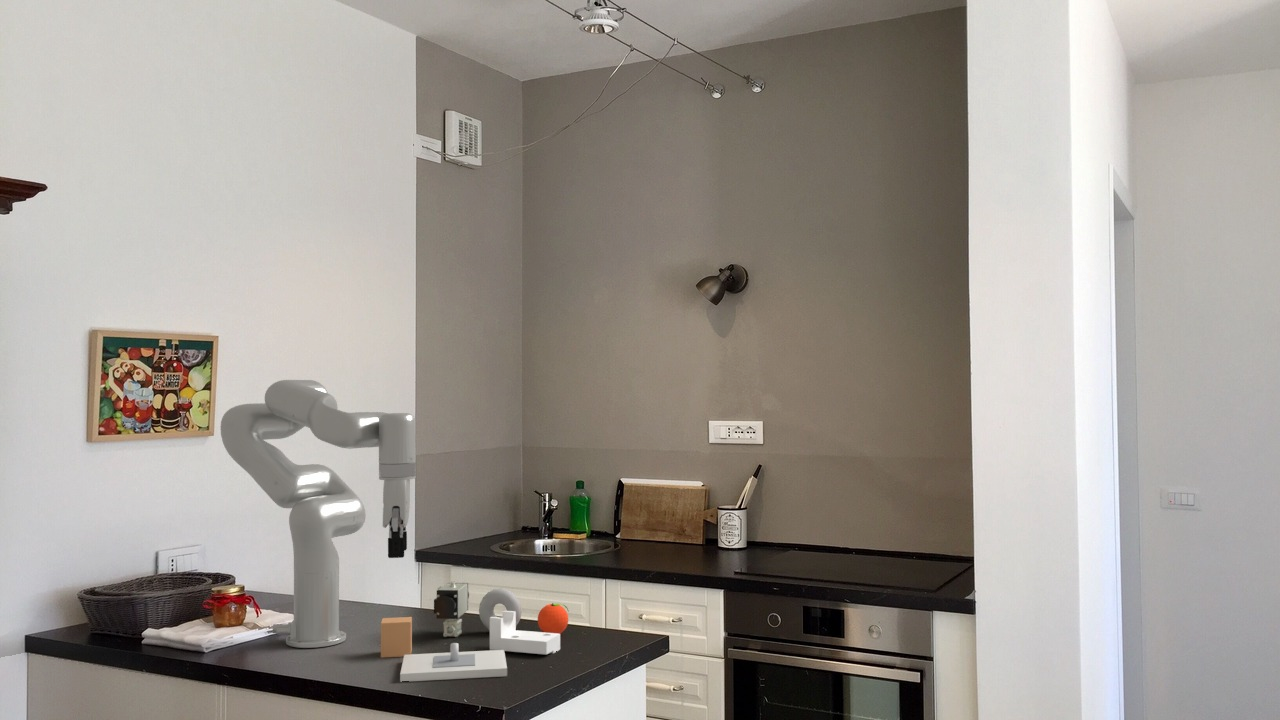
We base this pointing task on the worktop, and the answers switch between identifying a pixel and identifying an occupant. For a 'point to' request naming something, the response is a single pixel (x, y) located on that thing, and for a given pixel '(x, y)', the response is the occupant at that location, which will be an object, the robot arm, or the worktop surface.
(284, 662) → the worktop surface
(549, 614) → the clementine
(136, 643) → the worktop surface
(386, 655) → the block
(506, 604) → the donut
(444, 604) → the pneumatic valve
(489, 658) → the plate
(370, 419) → the robot arm
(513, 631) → the bracket
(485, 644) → the worktop surface
